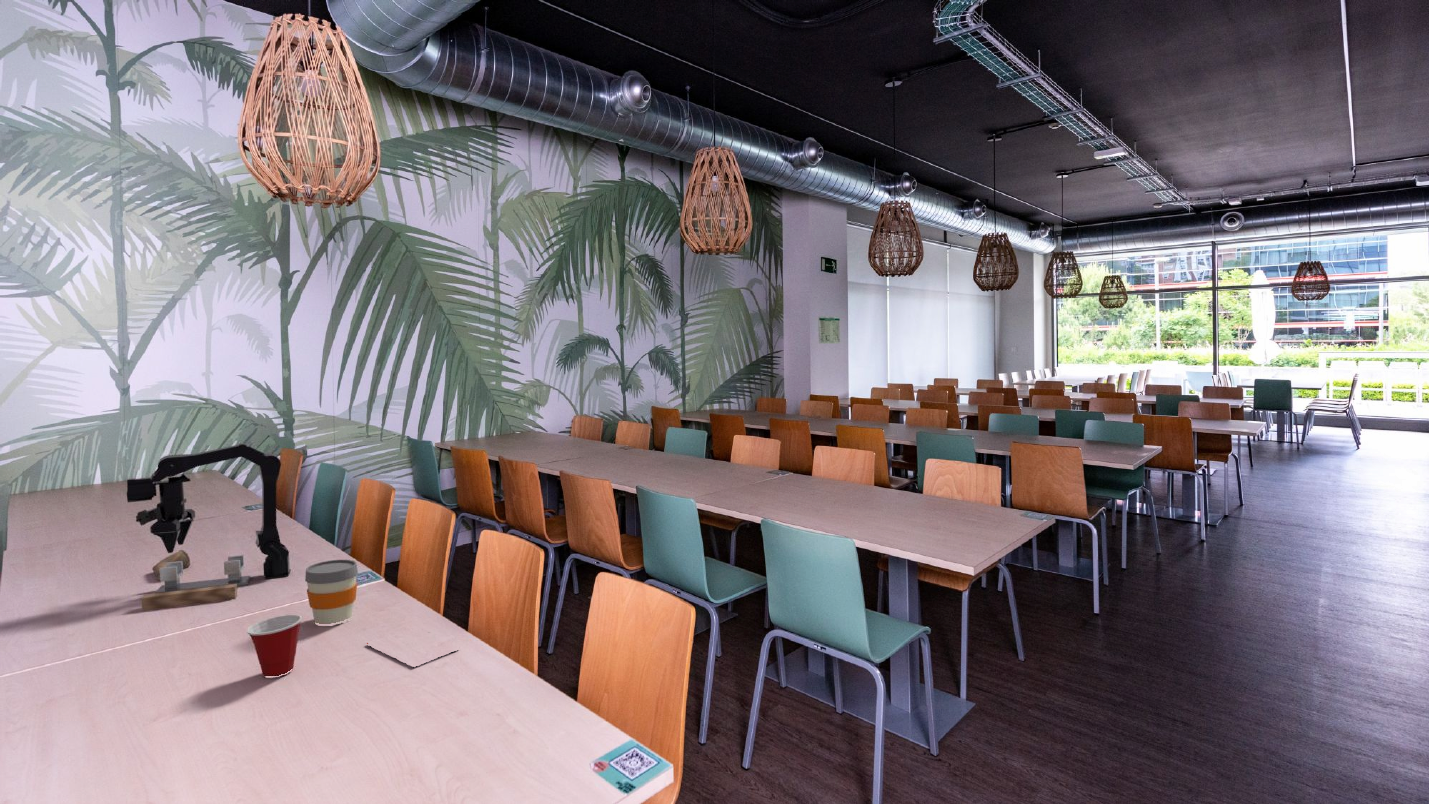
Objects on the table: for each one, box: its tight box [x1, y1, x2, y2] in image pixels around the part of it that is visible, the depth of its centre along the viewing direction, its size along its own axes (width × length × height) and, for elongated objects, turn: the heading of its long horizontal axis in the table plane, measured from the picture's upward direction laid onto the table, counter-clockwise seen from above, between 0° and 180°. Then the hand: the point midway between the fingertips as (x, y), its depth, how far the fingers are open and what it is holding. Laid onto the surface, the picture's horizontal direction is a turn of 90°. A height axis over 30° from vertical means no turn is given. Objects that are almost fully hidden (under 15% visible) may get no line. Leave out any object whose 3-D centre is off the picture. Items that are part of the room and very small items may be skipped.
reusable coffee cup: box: [304, 559, 359, 624], centre depth 190 cm, size 13×13×15 cm
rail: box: [140, 584, 238, 612], centre depth 202 cm, size 22×3×4 cm, turn 115°
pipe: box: [151, 549, 191, 582], centre depth 229 cm, size 6×17×10 cm
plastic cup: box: [245, 613, 303, 677], centre depth 159 cm, size 11×11×12 cm
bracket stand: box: [154, 554, 252, 594], centre depth 216 cm, size 23×7×8 cm, turn 114°
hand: (175, 548), depth 210 cm, fingers open, 9 cm apart
